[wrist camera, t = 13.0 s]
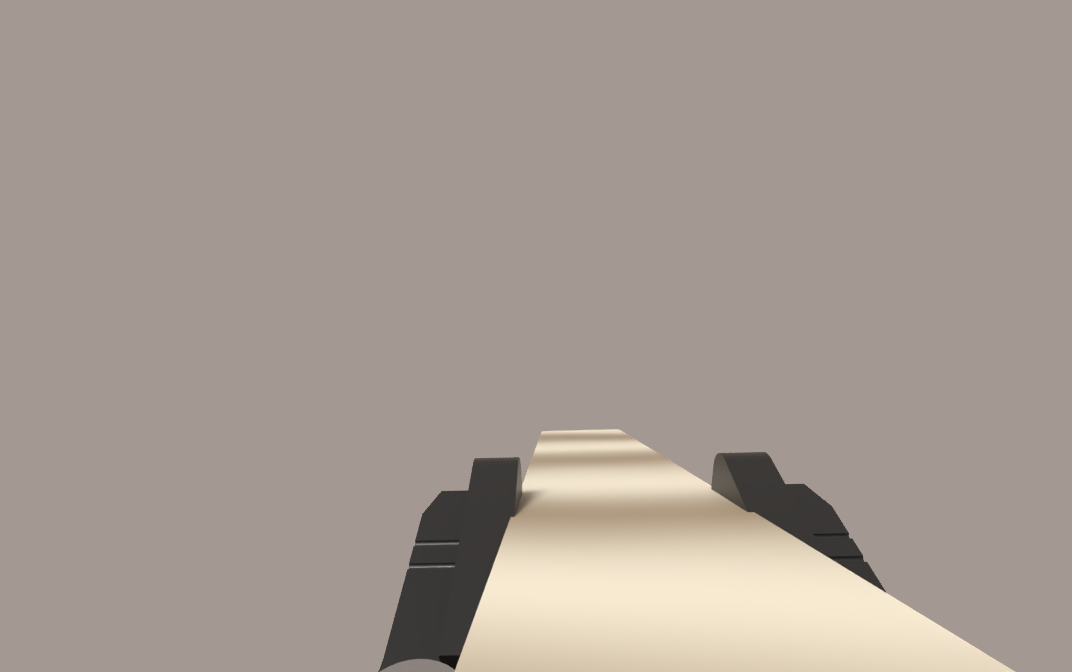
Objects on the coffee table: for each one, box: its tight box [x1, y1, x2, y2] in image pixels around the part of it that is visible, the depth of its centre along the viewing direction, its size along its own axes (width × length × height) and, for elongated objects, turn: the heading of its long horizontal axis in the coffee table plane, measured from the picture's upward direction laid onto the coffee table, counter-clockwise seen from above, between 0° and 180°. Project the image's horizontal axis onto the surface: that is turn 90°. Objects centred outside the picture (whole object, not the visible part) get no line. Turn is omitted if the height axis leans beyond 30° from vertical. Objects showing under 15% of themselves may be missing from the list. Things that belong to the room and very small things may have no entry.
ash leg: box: [455, 429, 1015, 672], centre depth 16 cm, size 25×3×3 cm, turn 178°
